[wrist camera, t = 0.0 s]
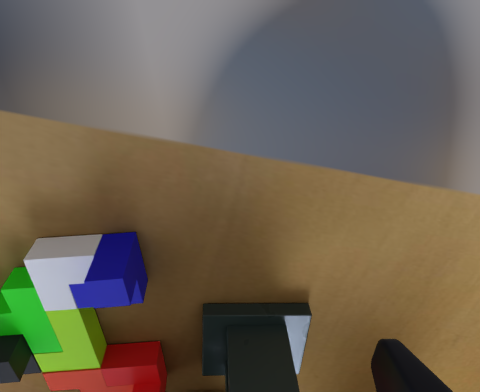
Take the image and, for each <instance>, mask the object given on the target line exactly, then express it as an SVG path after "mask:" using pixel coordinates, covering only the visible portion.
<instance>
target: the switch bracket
mask: <svg viewBox="0 0 480 392" xmlns="http://www.w3.org/2000/svg"><path fill="white" fill-rule="evenodd" d="M311 316H312V314H311V311H310V307H309V304H308V303H259V304H203V340H202V375H203V376H213V375H225V390H226V392H300V391H299V386H298V381H297V376H296V374H299V372H300V368H301V363H302V358H303V354H304V349H305V344H306V340H307V335H308V330H309V326H310V321H311Z"/></svg>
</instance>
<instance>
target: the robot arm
mask: <svg viewBox="0 0 480 392" xmlns="http://www.w3.org/2000/svg"><path fill="white" fill-rule="evenodd" d="M371 369H372V374H373V378H374V382H375V387H376V391H377V392H453V391H452V390H451V389H449V388H448V387H447V386H446V385H445V384H444V383H443V382H442V381H441V380H440V379H439V378H438V377H437V376H436V375H435V374H434V373H433V372H432V371H431V370H429V369H428V368H427V367H426V366H425V365H424V364H423V363H422V362H421V361H420V360H419V359H418V358H417V357H416V356H415V355H414V354H413V353H412V352H411V351H409V350H408V349H407V348H406V347H405V346H404V345H403V344H402V343H401V342H400V341H398V340H397V339H381V340H379V341H378V344H377V346H376V349H375V352H374V355H373V357H372V361H371Z"/></svg>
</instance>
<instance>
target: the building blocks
mask: <svg viewBox="0 0 480 392" xmlns="http://www.w3.org/2000/svg"><path fill="white" fill-rule="evenodd" d="M23 261H24V263H25V266H26V267H17V268H14V269H13V271H12V272H11V274H10V276H9V277H8V279H7V280H6V282H5V283H4V285H3V286H2V288H1V292H0V383H10V382H20V380H21V378H22V375H23V374H31V373H41V372H43V376H44V378H45V380H46V382H47V384H48V386H49V388H50V390H51V391H58V390H71V389H79V390H80V392H165V390H166V381H167V371H166V366H165V362H164V357H163V353H162V348H161V344H160V341H155V342H141V343H128V344H114V345H107V344H106V341H105V338H104V335H103V332H102V329H101V326H100V323H99V320H98V318H97V315H96V312H95V309H94V308H105V307H117V306H129V305H131V304H136V303H143V301H144V296H145V292H146V287H147V282H148V278H147V274H146V270H145V266H144V263H143V259H142V255H141V251H140V247H139V243H138V239H137V235H136V232H128V233H116V234H97V235H82V236H67V237H52V238H37V240H36V241H35V243H34V244H33V246H32V247H31V249H30V250H29V252H28V253H27V255H26V256H25V258H24V260H23Z"/></svg>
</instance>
